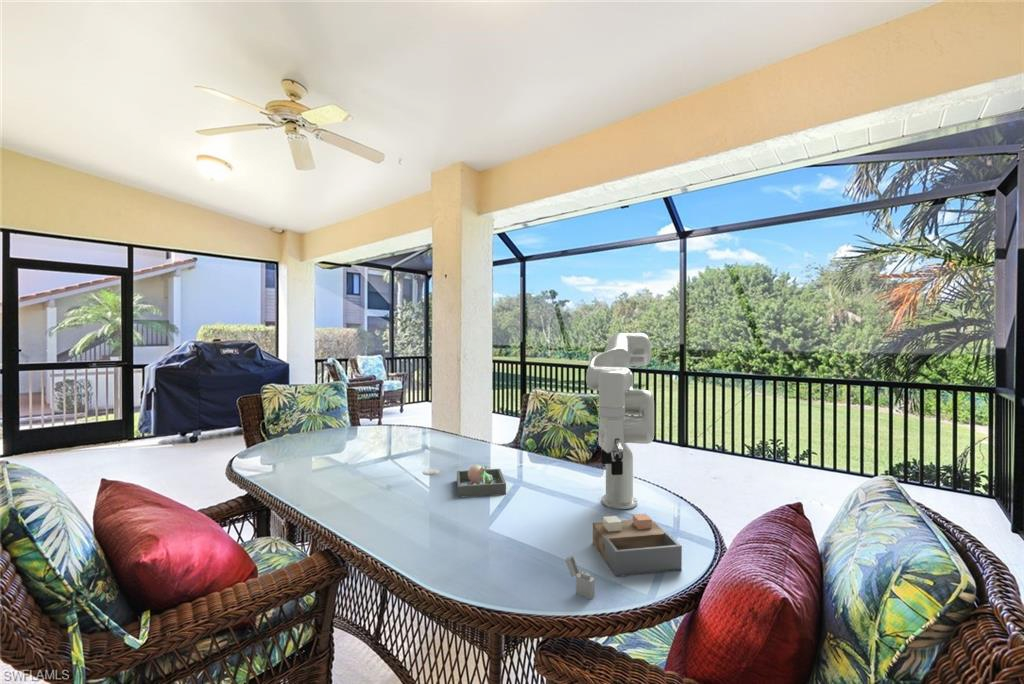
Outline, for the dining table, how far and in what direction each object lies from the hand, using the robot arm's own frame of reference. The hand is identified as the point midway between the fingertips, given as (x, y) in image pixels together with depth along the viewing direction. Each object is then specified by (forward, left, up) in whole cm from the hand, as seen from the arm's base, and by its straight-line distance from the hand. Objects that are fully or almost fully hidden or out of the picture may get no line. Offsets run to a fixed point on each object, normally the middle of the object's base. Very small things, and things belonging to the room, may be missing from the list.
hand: (611, 468), depth 134 cm
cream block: (+5, -2, -15) cm, 16 cm away
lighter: (+24, -17, -22) cm, 37 cm away
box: (+15, +3, -21) cm, 26 cm away
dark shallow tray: (-50, -35, -21) cm, 65 cm away
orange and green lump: (-50, -35, -22) cm, 65 cm away
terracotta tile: (+5, +7, -15) cm, 18 cm away
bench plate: (+6, +3, -21) cm, 22 cm away
